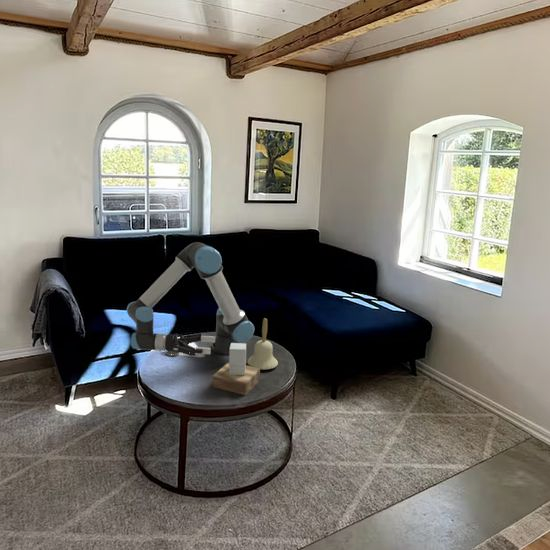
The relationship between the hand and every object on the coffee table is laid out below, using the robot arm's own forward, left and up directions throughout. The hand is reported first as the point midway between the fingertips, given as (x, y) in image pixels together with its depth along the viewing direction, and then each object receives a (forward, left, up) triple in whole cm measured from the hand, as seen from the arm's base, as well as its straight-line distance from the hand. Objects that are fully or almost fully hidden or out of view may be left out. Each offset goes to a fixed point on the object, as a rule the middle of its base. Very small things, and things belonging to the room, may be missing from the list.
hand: (212, 345), depth 224 cm
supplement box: (-2, +12, -11) cm, 17 cm away
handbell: (-26, +15, -17) cm, 34 cm away
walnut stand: (-2, +12, -17) cm, 21 cm away
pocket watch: (-18, -31, -17) cm, 40 cm away
